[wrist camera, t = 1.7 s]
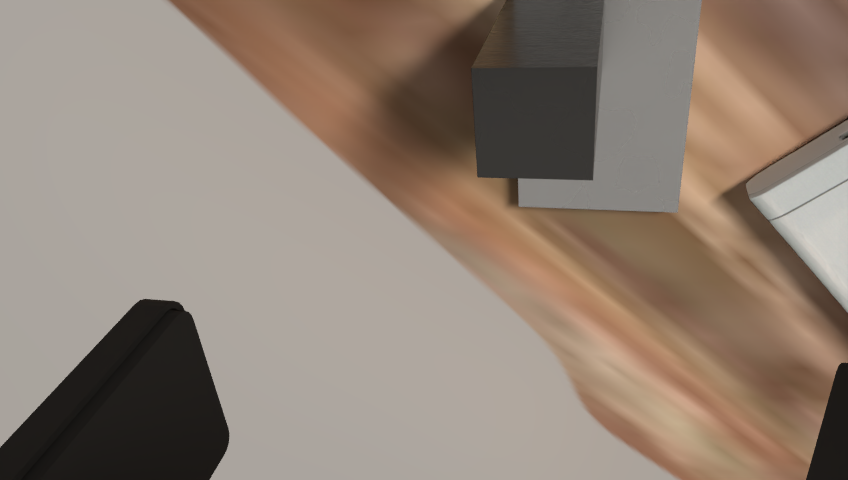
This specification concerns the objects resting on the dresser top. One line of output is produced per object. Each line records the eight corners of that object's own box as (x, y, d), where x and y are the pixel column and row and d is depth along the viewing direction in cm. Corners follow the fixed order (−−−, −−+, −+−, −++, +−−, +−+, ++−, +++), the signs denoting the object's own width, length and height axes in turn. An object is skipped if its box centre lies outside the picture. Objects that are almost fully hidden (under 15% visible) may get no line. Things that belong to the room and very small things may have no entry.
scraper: (521, 194, 29) (486, 336, 22) (513, -207, 22) (456, -195, 14) (676, 199, 28) (693, 353, 20) (723, -229, 20) (777, -228, 13)
